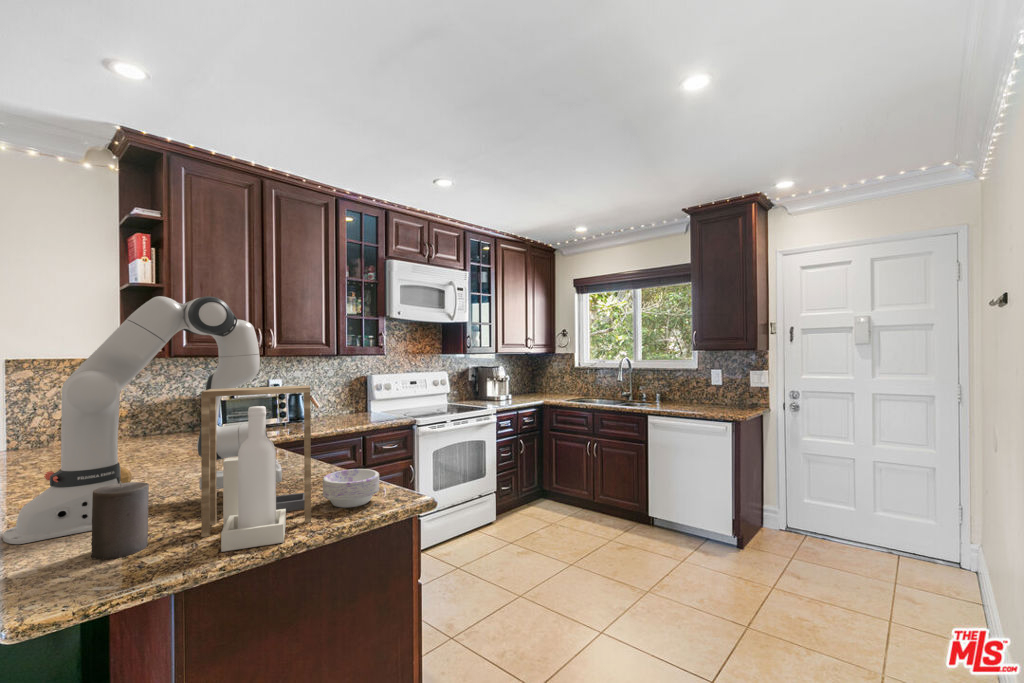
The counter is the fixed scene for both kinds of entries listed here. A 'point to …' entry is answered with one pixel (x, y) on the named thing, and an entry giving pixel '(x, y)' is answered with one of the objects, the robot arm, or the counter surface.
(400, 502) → the counter surface
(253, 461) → the bottle
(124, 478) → the potato
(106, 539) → the pillar candle
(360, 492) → the paper bowls
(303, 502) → the tray
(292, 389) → the oak shelf bridge
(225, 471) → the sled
